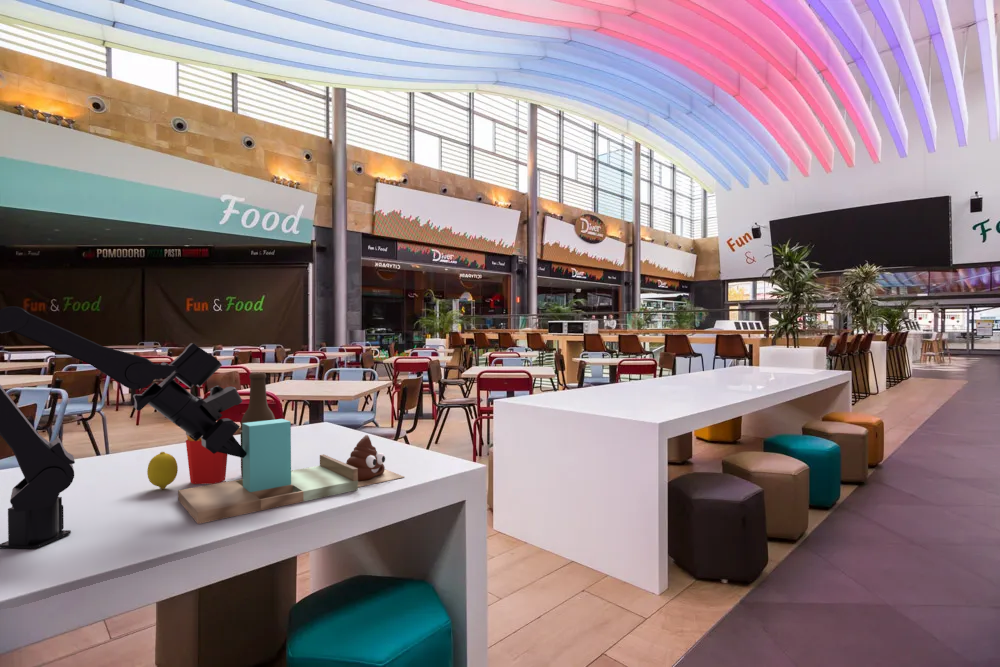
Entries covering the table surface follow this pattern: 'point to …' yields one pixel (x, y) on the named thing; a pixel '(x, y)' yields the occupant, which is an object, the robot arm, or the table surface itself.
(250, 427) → the block
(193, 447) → the french fries
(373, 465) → the poop emoji
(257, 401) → the beer bottle
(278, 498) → the board
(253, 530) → the table surface
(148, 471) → the lemon
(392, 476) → the coaster
